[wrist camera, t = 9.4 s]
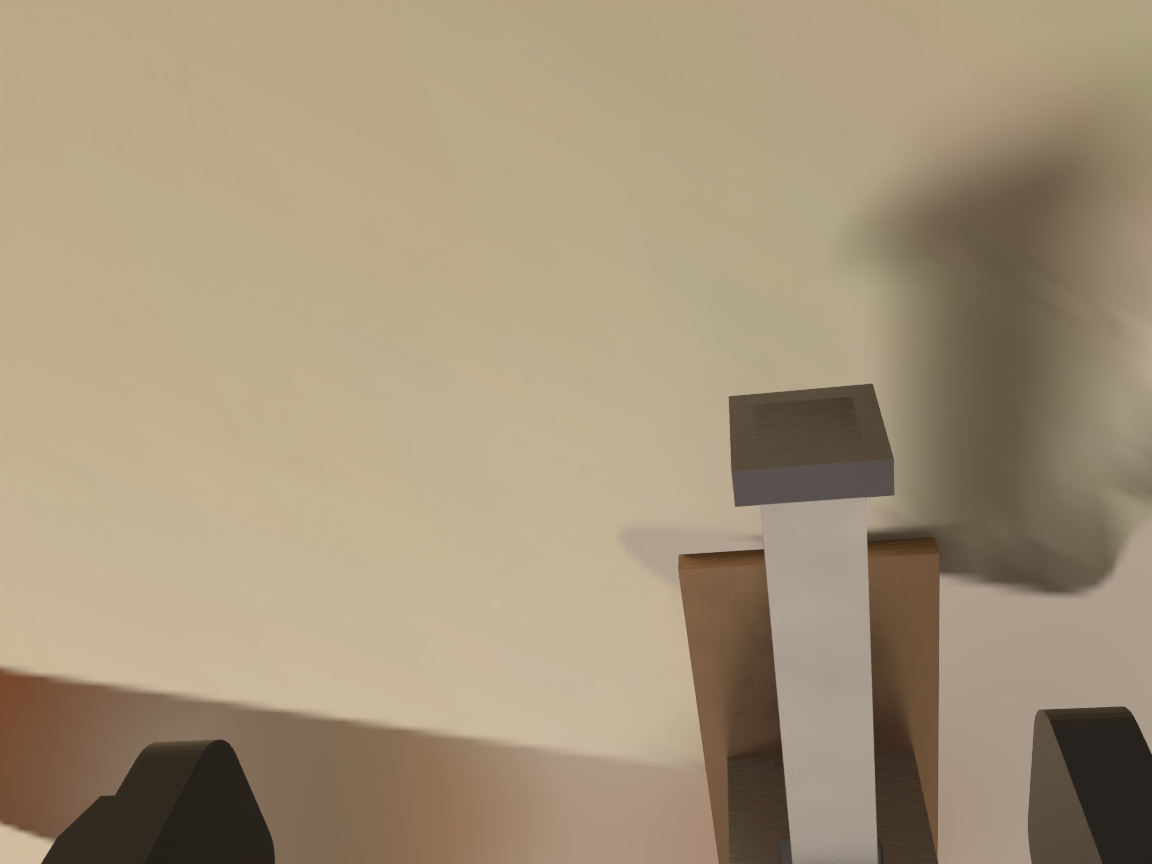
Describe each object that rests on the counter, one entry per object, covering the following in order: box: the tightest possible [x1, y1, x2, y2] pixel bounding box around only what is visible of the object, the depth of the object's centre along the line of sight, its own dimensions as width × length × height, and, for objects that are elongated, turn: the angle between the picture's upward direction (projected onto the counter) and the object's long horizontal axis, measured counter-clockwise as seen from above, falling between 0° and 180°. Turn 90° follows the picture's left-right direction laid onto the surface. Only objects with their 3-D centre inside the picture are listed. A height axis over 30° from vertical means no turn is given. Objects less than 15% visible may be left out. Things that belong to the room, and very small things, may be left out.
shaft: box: [729, 384, 894, 864], centre depth 38 cm, size 4×24×4 cm, turn 9°
